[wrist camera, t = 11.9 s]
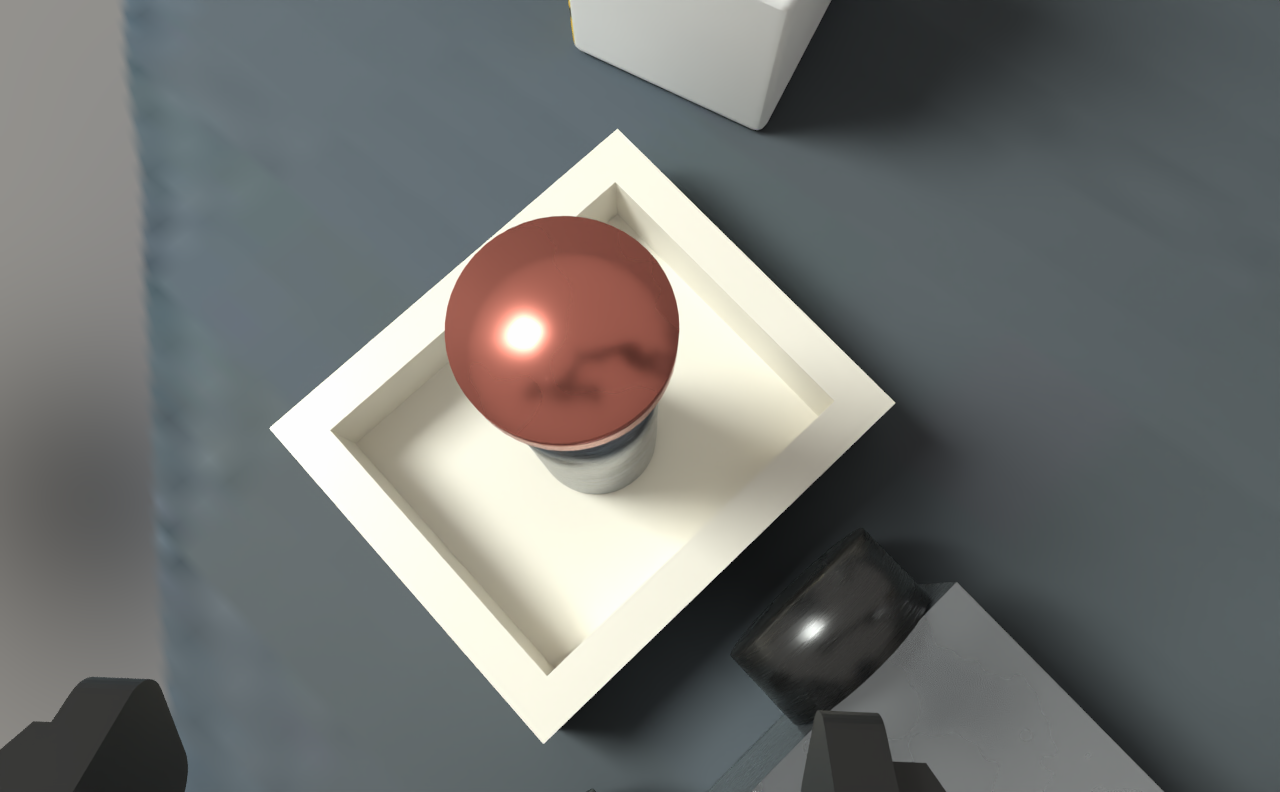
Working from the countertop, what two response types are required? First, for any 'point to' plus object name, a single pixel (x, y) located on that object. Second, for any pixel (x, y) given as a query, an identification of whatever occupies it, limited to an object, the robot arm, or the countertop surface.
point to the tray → (555, 514)
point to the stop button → (567, 346)
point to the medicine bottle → (703, 47)
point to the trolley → (915, 685)
